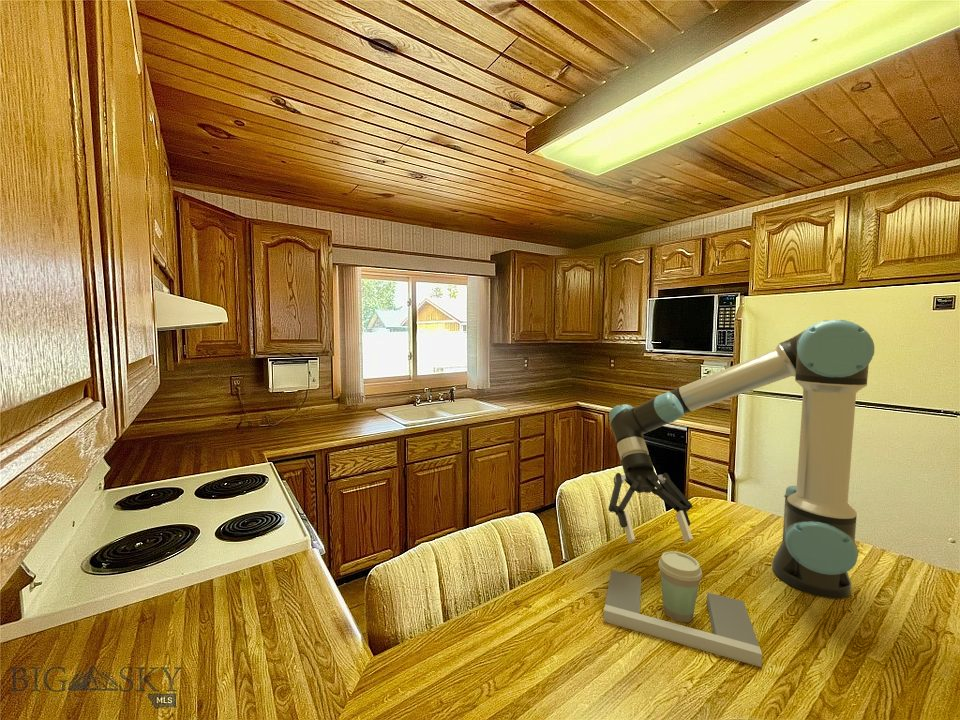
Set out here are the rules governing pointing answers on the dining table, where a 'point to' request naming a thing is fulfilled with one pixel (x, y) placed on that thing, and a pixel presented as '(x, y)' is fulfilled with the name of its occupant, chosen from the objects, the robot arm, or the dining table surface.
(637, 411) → the robot arm
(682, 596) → the coffee cup
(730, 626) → the u-shaped bracket
